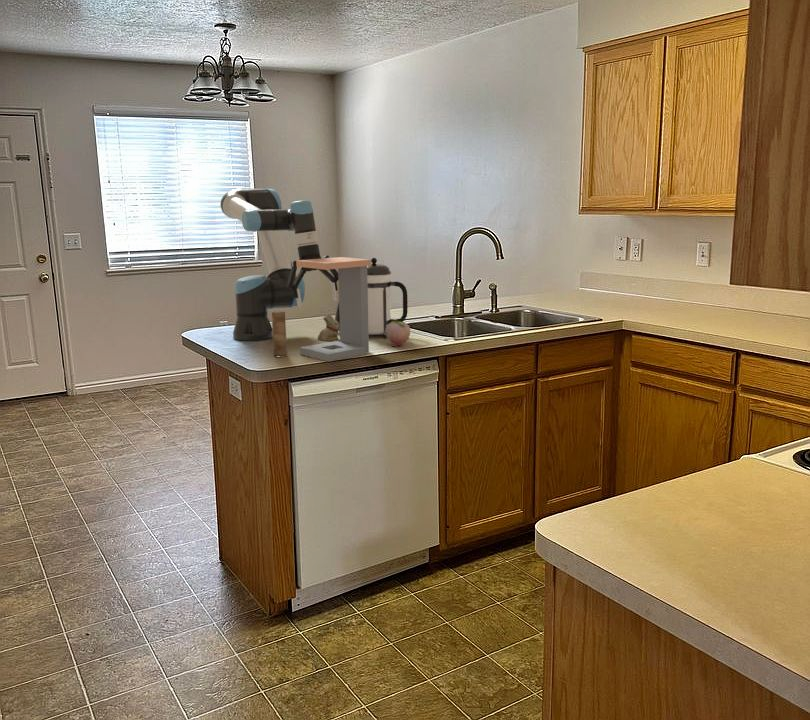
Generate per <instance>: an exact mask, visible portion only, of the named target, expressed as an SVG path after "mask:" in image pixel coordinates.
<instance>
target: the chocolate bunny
mask: <svg viewBox="0 0 810 720" xmlns="http://www.w3.org/2000/svg"><path fill="white" fill-rule="evenodd" d="M322 319H323V321H324V322H325V324H326V326H325V328H323V329H321V330H320V332H319V335H318V336H317V340H320V341H338V340H339V337H338V336H339V331H338V330H339V328H340V324H339V322H337V321H335V318H334V317H333V316H332V315H331V314H330V313H327V314H326V315H325V316H323V318H322ZM337 339H338V340H337Z"/></svg>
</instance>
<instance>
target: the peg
mask: <svg viewBox="0 0 810 720" xmlns="http://www.w3.org/2000/svg"><path fill="white" fill-rule="evenodd" d="M271 327H272V329H273V337H272V345H273V357H274V356H286V355H287V356H288V353H287V351H288V347H287V330H286V327H287V326H286V312H285V311H283V310H278V311H271ZM287 356H286V357H287Z"/></svg>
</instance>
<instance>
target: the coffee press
mask: <svg viewBox="0 0 810 720" xmlns="http://www.w3.org/2000/svg"><path fill="white" fill-rule="evenodd" d="M370 260H371V266H367V281H368V335H375V336H376V335H381V336H382V337H383V339H388V338H387V336H386V333H385V329H386V327H387V325H388V324H390V322H391V321H397V318H392V317H391V286H392V287H398V288H400V290H401V292H402V315H401V317H399V318H398V321H399V322H405V320H406V319H407V316H408V304H409V303H408V302H409V301H408V291H407V287H406V286H405V285H404V284H403V283H402V282H400V281H391V274H392V270H390V267H389V266H387V265H385V264H378V263H377V262H378V260H377V258H376V257H372V258H371V259H370Z"/></svg>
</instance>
